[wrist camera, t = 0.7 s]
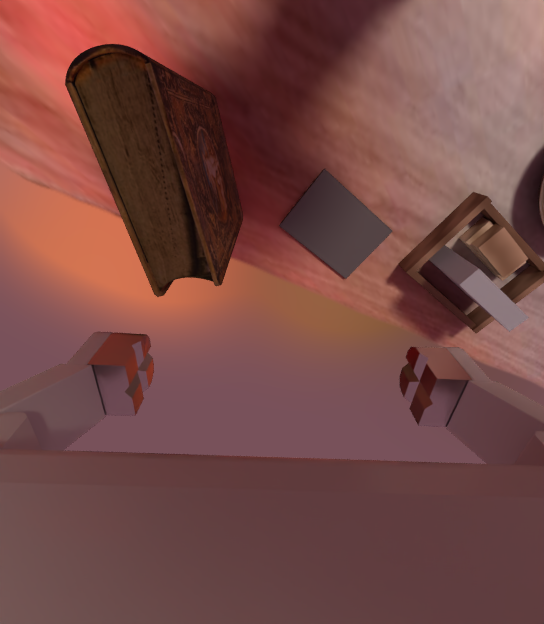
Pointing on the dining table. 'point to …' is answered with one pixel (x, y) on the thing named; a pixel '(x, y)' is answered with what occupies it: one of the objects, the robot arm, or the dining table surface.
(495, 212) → the brown open frame piece
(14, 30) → the dining table surface
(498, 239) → the offcut short
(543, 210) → the plant saucer
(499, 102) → the dining table surface
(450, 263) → the block
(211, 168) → the book
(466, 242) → the block
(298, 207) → the mat
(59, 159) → the dining table surface
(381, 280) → the dining table surface
